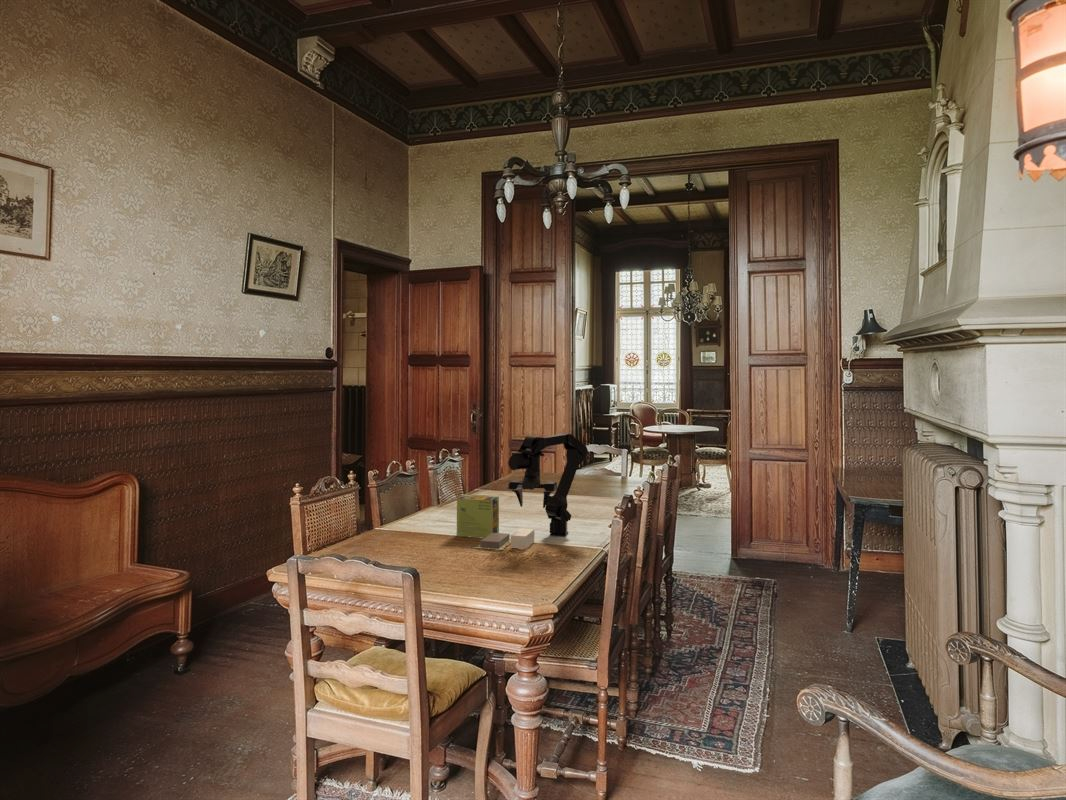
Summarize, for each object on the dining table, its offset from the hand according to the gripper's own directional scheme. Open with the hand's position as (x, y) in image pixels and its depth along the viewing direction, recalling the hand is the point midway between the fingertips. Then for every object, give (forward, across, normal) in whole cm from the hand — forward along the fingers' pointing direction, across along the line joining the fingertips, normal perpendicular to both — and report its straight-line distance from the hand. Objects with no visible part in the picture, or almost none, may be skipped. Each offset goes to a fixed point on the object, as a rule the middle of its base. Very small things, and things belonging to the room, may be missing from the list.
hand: (532, 507), depth 264 cm
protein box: (+13, -24, +3) cm, 28 cm away
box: (+13, -2, -9) cm, 16 cm away
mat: (+13, -12, -11) cm, 21 cm away
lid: (+13, -12, -11) cm, 21 cm away
